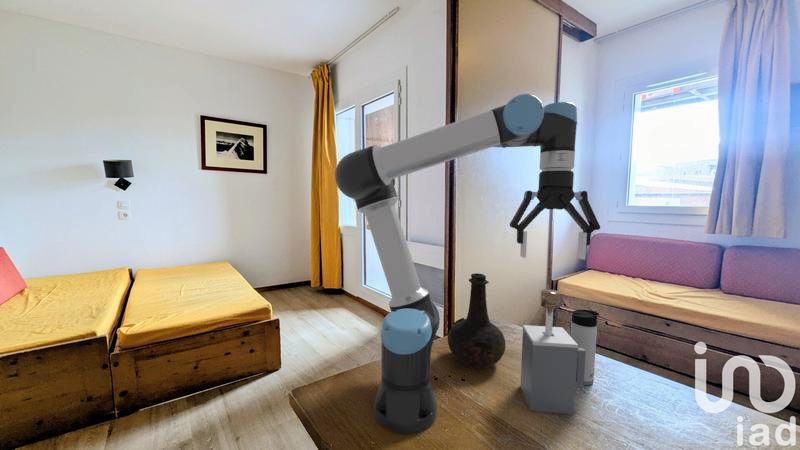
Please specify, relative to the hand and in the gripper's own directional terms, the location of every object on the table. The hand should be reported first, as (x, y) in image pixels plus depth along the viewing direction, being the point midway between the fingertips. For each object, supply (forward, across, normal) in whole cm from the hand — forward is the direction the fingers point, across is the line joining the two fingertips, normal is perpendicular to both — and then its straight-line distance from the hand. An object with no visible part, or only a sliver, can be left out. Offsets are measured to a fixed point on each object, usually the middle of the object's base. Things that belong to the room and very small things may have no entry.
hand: (551, 257), depth 78 cm
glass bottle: (+37, -16, +17) cm, 44 cm away
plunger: (+32, 0, 0) cm, 32 cm away
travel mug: (+37, +13, +11) cm, 41 cm away
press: (+37, +2, 0) cm, 37 cm away
